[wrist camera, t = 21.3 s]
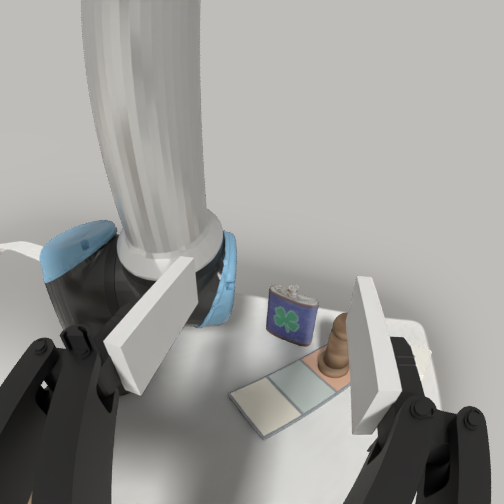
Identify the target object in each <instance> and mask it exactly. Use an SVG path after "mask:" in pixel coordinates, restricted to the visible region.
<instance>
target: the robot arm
mask: <svg viewBox="0 0 504 504" xmlns="http://www.w3.org/2000/svg"><path fill="white" fill-rule="evenodd" d="M81 20H82V37H83V49H84V59H85V68H86V75H87V83H88V89H89V96H90V101H91V107H92V113H93V117H94V122H95V128H96V132H97V137H98V141H99V146H100V149H101V154H102V158H103V162H104V165H105V170H106V173H107V177H108V181H109V184H110V188H111V191H112V195H113V198H114V201H115V204H116V208H117V210H118V214H119V217H120V220H121V223H122V226H123V229H122V231H121V233H120V235H117V233H116V232H117V228H116V227H115V224H114V223H113V222H112V221H108V220H99V221H93V222H89V223H86V224H82V225H79V226H77V227H74V228H72V229H69V230H67V231H65V232H63V233H61V234H59V235H58V236H56V237H54V238H53V239H51V240H50V241H49V242H48V243H47V244H46V245H45V246H44V247H43V249H42V251H41V253H40V263H41V268H42V272H43V277H44V278H43V280H44V283H45V285H46V288H47V291H48V294H49V296H50V299H51V301H52V304H53V307H54V309H55V312H56V314H57V317H58V319H59V321H60V323H61V326H62V328H63V331H62V333H61V334H60V337H61V339H62V341H63V343H64V345H65V347H66V349H61V348H56V347H55V345H54V343H53V341H52V340H51V339H49V338H40V339H37V340H36V341H34V342H33V343H32V344H31V345H30V346H29V347H28V349H27V350H26V352H25V353H24V354H23V355H22V357H21V358H20V359H19V361H18V362H17V364H16V365H15V366H14V368H13V369H12V371H11V372H10V373H9V375H8V376H7V378H6V379H5V381H4V382H3V384H2V385H1V387H0V504H28V502H29V499H30V496H31V493H32V501H31V504H111V484H112V460H113V445H114V434H115V424H116V415H117V407H118V399H119V396H120V395H124V394H127V393H129V392H132V393H134V394H137V395H140V396H141V395H142V394H143V392H144V390H145V389H146V387H147V385H148V384H149V382H150V380H151V379H152V377H153V375H154V374H155V372H156V370H157V369H158V367H159V366H160V364H161V362H162V361H163V359H164V357H165V356H166V354H167V352H168V351H169V349H170V348H171V346H172V344H173V343H174V341H175V339H176V338H177V336H178V335H179V333H180V331H181V330H182V328H183V326H195V327H196V328H202V327H204V326H216V325H221V324H223V323H225V322H226V321H227V320H228V319H229V317H230V315H231V311H232V307H233V301H234V292H235V286H234V283H235V278H236V262H237V261H236V260H237V258H236V257H237V249H236V239H235V236H234V235H233V234H232V233H230V232H226V231H223V230H222V227H221V223H220V221H219V219H218V218H217V216H216V215H215V214H214V213H212V212H211V211H210V210H209V209H207V208H206V194H205V180H204V163H203V145H202V123H201V93H200V0H81ZM346 331H347V342H348V354H349V367H350V384H351V409H352V434H354V435H362V434H372V433H373V432H374V431H375V429H376V428H377V429H378V438H377V439H376V440H375V441H374V442H373V444H372V445H371V446H370V447H369V449H368V450H367V451H368V452H370V453H369V455H368V457H367V459H366V461H365V463H364V465H363V468H362V470H361V472H360V474H359V476H358V477H357V479H356V481H355V483H354V485H353V487H352V489H351V491H350V492H349V494H348V496H347V498H346V499H345V501H344V503H343V504H412V502H413V499H414V497H415V494H416V492H417V496H416V503H415V504H491V466H490V452H489V442H488V434H487V426H486V420H485V418H484V415H483V413H482V412H481V411H480V410H479V409H477V408H475V407H472V406H467V407H464V408H463V409H461V410H460V411H459V412H458V413H457V414H454V413H449V412H444V411H440V410H438V409H437V408H436V406H435V404H434V403H433V402H432V401H431V400H430V399H429V398H427V397H425V395H424V392H423V388H422V384H421V380H420V376H419V373H418V369H417V366H416V362H415V359H414V358H413V352H412V349H411V346H410V345H409V344H408V342H407V341H406V340H405V339H404V337H390V336H389V332H388V329H387V325H386V321H385V318H384V314H383V311H382V308H381V304H380V301H379V298H378V294H377V291H376V288H375V285H374V282H373V279H372V277H363V276H357V277H356V282H355V286H354V290H353V295H352V299H351V303H350V307H349V311H348V314H347V318H346ZM43 381H45V382H46V384H47V385H48V386H47V387H46V388H45V389H43V387H42V386H41V384H42V382H43Z"/></svg>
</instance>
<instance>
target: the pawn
mask: <svg viewBox="0 0 504 504" xmlns="http://www.w3.org/2000/svg"><path fill="white" fill-rule="evenodd" d="M347 314H348V313H342V314H340V315H339V316H338V317H336V319H335V320H334V323H333V329H332V330H331V333H330V337H329V340H328V344H327V347H326V351H324V352H322V353H321V355H320V358H319V361H318V369H319V371H320V372H321V373H322V374H323V375H325V376H327V377H330V378H340V377H343V376H345V375H346V374H347V373H348V371H349V368H350V367H349V354H348V342H347V331H346V318H347Z"/></svg>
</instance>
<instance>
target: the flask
mask: <svg viewBox="0 0 504 504" xmlns="http://www.w3.org/2000/svg"><path fill="white" fill-rule="evenodd" d="M295 286H296V287H295ZM295 286H293V285H291V286H289V287H288V290H287V289H286V288H284V287H283V286H282V285H273V286H271V287H270V289H269V301H268V312H267V325H266V329H267V331H268V332H269V333H271V334H273V335H274V336H276V337H278V338H281V339H283V340H286V341H288V342H291V343H294V344H297V345H300V346H309V345H310V344H311V342H312V337H313V331H314V327H315V320H316V315H317V310H318V306H319V305H318V300H316V299H314V298H310V297H306V296H303V295H300V294H297V289H298V288H299V286H298V285H295Z"/></svg>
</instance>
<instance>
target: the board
mask: <svg viewBox="0 0 504 504" xmlns="http://www.w3.org/2000/svg"><path fill="white" fill-rule="evenodd" d="M326 347H327V344H326V345H325V346H323V347H321V348H319V349H318V350H316V351H314V352H312V353H310V354H309V355H307V356H305V357H303V358H301V359H299V360H297V361H295V362H294V363H292V364H290V365H288V366H286V367H284V368H282V369H280V370H278V371H276V372H274V373H272V374H270V375H268V376H265V377H263V378H261V379H259V380H257V381H255V382H253V383H250V384H248V385H246V386H244V387H242V388H239V389H237V390H235V391H232V392H230V393H228V396H229V397H230V399H231V400H232V401H233V403H234V404H235V405H236V407H237V408H238V409H239V411H240V412H241V413H242V414H243V416H244V417H245V418H246V420H247V421H248V422H249V423H250V425H251V426H252V427H253V428H254V430H255V431H256V432H257V433H258V435H259V436H260V437H261V438H262V439H263V440H265V439H267V438H268V437H270V436H272V435H274V434H276V433H278V432H279V431H281V430H283V429H285V428H286V427H288V426H290V425H292V424H293V423H295V422H297V421H298V420H300V419H302V418H303V417H305V416H306V415H308V414H310V413H311V412H313V411H314V410H316V409H317V408H319V407H320V406H322V405H323V404H325V403H326V402H328V401H329V400H331V399H332V398H334V397H335V396H337V395H338V394H339V393H341V392H342V391H344V390H345V389H346V388H348V387H349V386H350V385H351V384H350V368H349V371H348V373H347V374H346V375H345V376H343V377H340V378H330V377H327V376H325V375H323V374H322V373H321V372H320V371H319V369H318V361H319V358H320V355H321V353H322V352H324V351H326Z"/></svg>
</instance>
